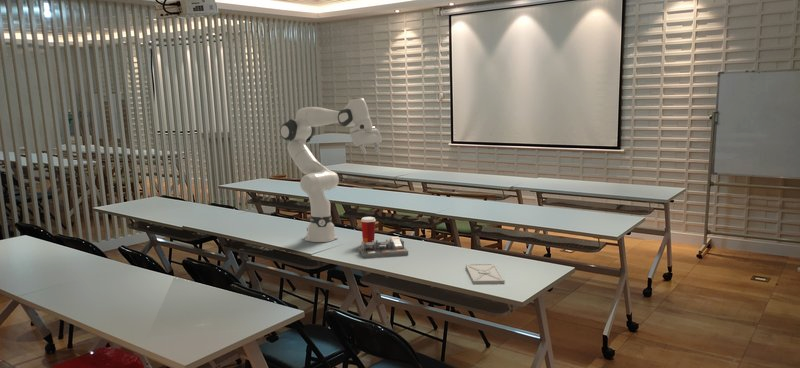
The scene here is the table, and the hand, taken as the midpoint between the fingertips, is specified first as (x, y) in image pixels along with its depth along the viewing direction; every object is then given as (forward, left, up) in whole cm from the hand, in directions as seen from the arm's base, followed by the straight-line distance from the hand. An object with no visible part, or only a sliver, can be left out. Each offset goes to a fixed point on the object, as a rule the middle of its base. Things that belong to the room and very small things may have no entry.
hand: (371, 152), depth 305 cm
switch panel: (+8, +4, -52) cm, 53 cm away
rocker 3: (+6, +12, -47) cm, 49 cm away
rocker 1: (+6, -3, -47) cm, 48 cm away
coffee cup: (-11, 0, -52) cm, 53 cm away
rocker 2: (+6, +4, -47) cm, 48 cm away
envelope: (+57, +41, -53) cm, 88 cm away
